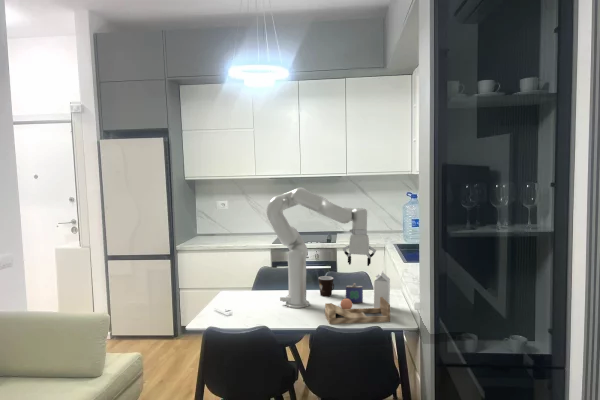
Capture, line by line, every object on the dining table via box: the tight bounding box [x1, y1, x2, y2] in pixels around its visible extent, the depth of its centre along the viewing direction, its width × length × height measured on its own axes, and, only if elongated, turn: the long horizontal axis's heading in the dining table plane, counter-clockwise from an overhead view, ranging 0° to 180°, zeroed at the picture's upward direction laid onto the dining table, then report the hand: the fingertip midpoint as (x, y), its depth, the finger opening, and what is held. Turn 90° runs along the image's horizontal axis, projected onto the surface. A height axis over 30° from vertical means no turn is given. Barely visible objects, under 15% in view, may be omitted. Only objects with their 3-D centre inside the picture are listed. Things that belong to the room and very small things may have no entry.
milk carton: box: [373, 270, 391, 308], centre depth 215 cm, size 7×7×19 cm
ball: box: [340, 297, 353, 309], centre depth 212 cm, size 6×6×6 cm
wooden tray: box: [324, 297, 391, 325], centre depth 201 cm, size 29×13×8 cm, turn 96°
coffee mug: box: [318, 275, 335, 298], centre depth 237 cm, size 12×9×10 cm
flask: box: [345, 282, 364, 304], centre depth 225 cm, size 9×3×11 cm, turn 87°
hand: (359, 264), depth 216 cm, fingers open, 9 cm apart
